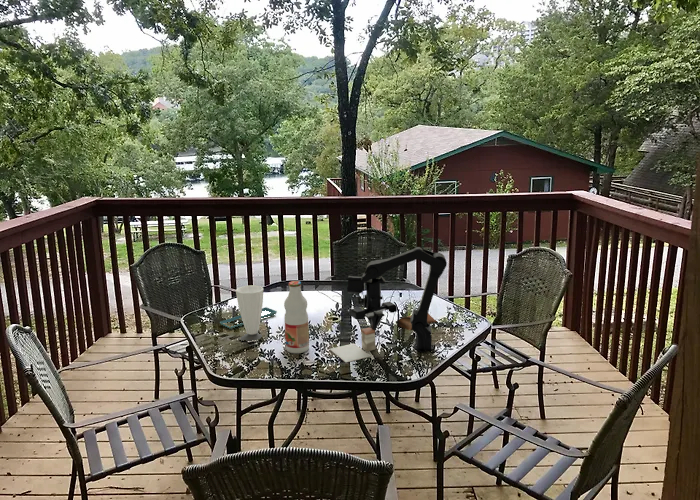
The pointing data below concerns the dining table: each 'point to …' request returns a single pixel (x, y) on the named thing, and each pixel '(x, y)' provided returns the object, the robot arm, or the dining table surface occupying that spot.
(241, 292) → the cup
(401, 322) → the sunglasses case
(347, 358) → the beige flat slab
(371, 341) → the tall block
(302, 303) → the fruit juice
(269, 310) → the teal flat open frame
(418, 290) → the dining table surface
